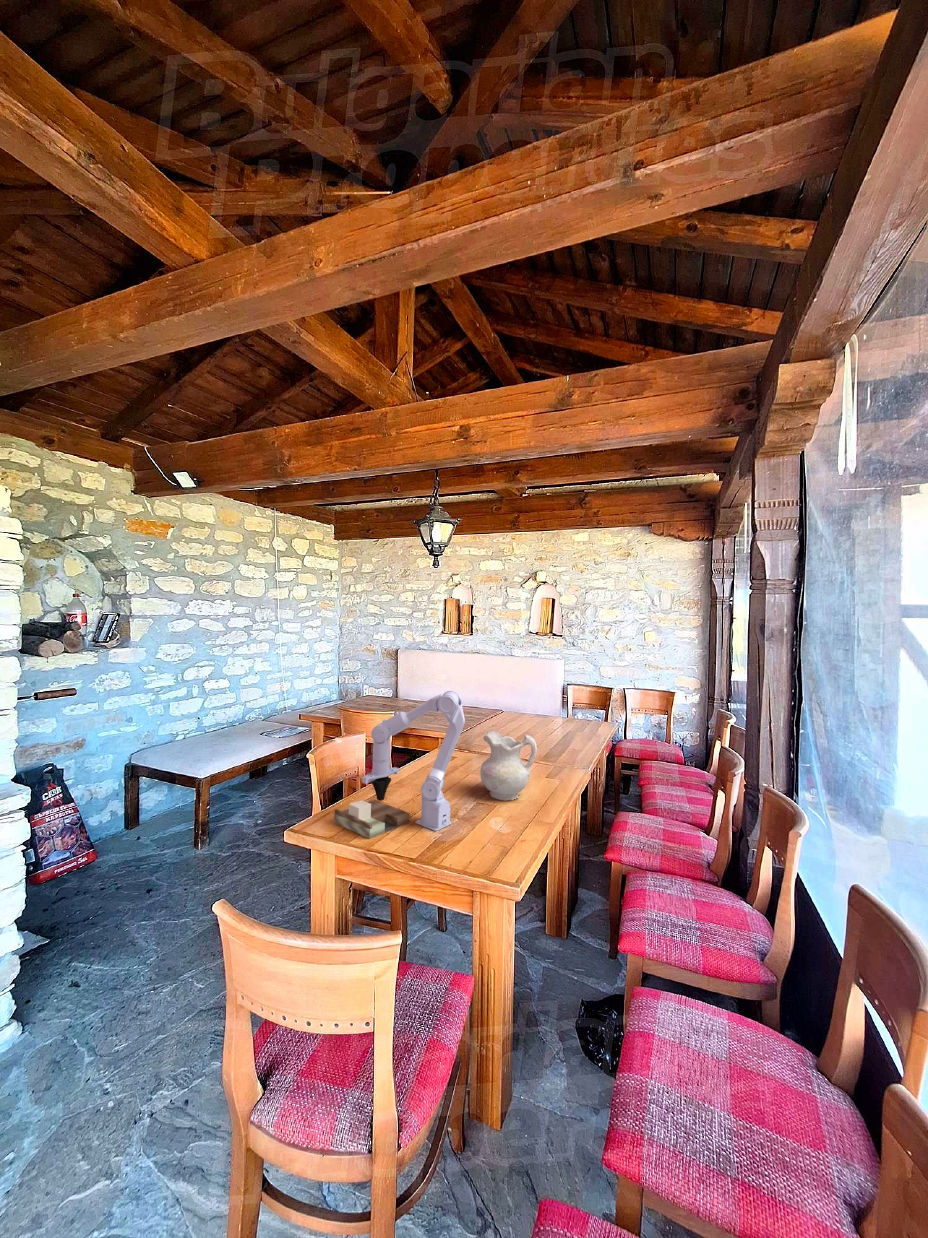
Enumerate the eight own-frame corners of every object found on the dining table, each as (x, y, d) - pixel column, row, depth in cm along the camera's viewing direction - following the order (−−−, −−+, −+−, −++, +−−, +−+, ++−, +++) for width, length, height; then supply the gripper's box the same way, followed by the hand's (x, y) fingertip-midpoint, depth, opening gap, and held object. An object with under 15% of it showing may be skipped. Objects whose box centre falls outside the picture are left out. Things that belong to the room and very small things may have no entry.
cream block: (370, 817, 158) (371, 803, 158) (358, 822, 154) (358, 808, 155) (360, 813, 162) (361, 800, 162) (348, 818, 158) (348, 804, 158)
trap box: (409, 822, 163) (409, 809, 163) (369, 839, 150) (370, 825, 150) (373, 808, 174) (374, 796, 174) (334, 822, 161) (334, 809, 161)
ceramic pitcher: (534, 792, 198) (535, 730, 200) (536, 806, 179) (538, 737, 181) (481, 789, 200) (482, 727, 202) (478, 803, 181) (479, 734, 183)
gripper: (389, 752, 173) (388, 791, 173) (356, 761, 162) (355, 802, 161) (403, 756, 168) (402, 796, 168) (370, 765, 157) (369, 808, 157)
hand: (380, 799), depth 165 cm, fingers closed
